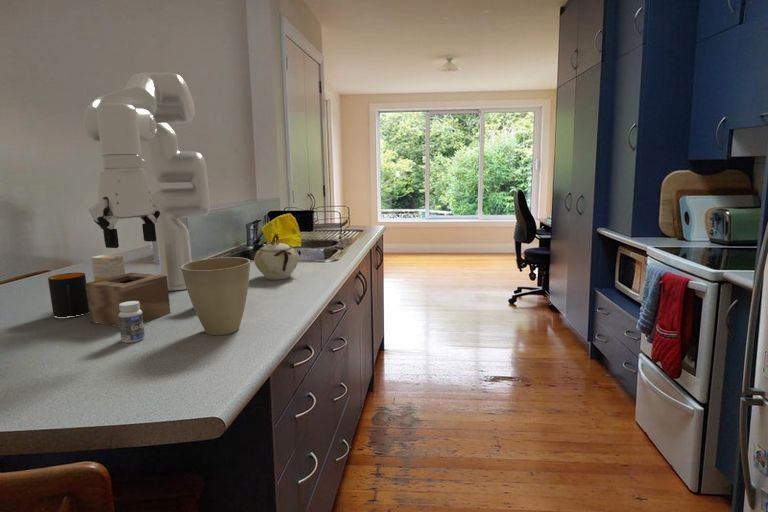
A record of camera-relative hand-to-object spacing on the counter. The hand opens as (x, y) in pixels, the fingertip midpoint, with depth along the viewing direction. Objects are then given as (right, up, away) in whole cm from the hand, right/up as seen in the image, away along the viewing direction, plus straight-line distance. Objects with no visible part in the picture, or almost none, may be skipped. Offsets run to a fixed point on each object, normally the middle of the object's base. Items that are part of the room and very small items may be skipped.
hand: (132, 244), depth 108 cm
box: (-10, -18, +19) cm, 28 cm away
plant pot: (+17, -20, +7) cm, 27 cm away
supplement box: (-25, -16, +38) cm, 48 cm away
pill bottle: (-1, -21, +3) cm, 21 cm away
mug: (-27, -18, +23) cm, 40 cm away
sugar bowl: (+18, -10, +63) cm, 66 cm away
